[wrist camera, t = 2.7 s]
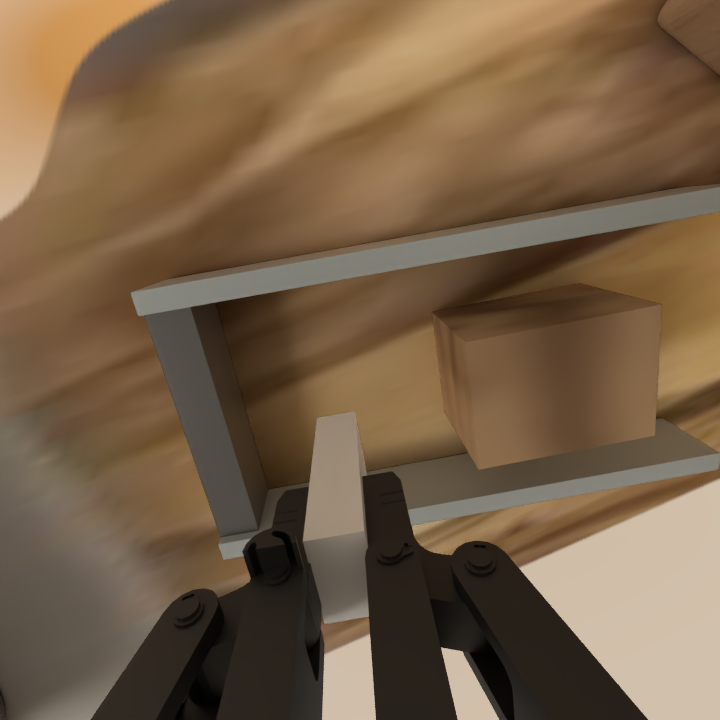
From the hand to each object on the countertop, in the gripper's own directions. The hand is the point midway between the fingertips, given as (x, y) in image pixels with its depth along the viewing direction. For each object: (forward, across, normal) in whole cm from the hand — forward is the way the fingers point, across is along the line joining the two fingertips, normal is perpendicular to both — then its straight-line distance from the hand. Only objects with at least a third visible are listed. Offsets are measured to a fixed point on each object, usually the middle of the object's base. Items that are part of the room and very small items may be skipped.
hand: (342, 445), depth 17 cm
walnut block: (+7, +9, 0) cm, 12 cm away
